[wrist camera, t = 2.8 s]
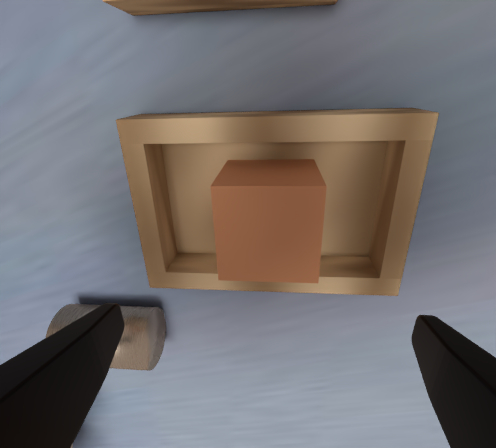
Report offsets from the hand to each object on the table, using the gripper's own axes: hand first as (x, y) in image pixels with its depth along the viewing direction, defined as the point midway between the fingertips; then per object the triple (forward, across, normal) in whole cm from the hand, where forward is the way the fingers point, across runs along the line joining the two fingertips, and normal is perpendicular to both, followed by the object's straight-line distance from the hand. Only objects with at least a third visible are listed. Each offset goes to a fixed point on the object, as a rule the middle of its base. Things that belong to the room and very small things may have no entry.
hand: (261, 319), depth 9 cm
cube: (+10, 0, 0) cm, 10 cm away
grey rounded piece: (+10, +12, +8) cm, 18 cm away
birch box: (+11, 0, 0) cm, 11 cm away
